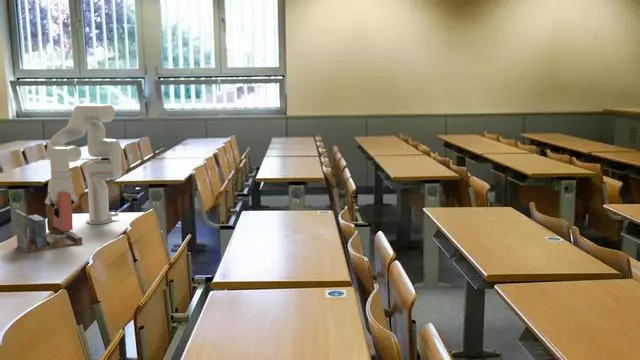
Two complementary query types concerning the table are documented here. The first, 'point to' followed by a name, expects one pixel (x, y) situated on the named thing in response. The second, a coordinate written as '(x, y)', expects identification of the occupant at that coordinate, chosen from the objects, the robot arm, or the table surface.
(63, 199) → the book
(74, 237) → the book stand
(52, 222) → the block
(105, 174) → the robot arm
